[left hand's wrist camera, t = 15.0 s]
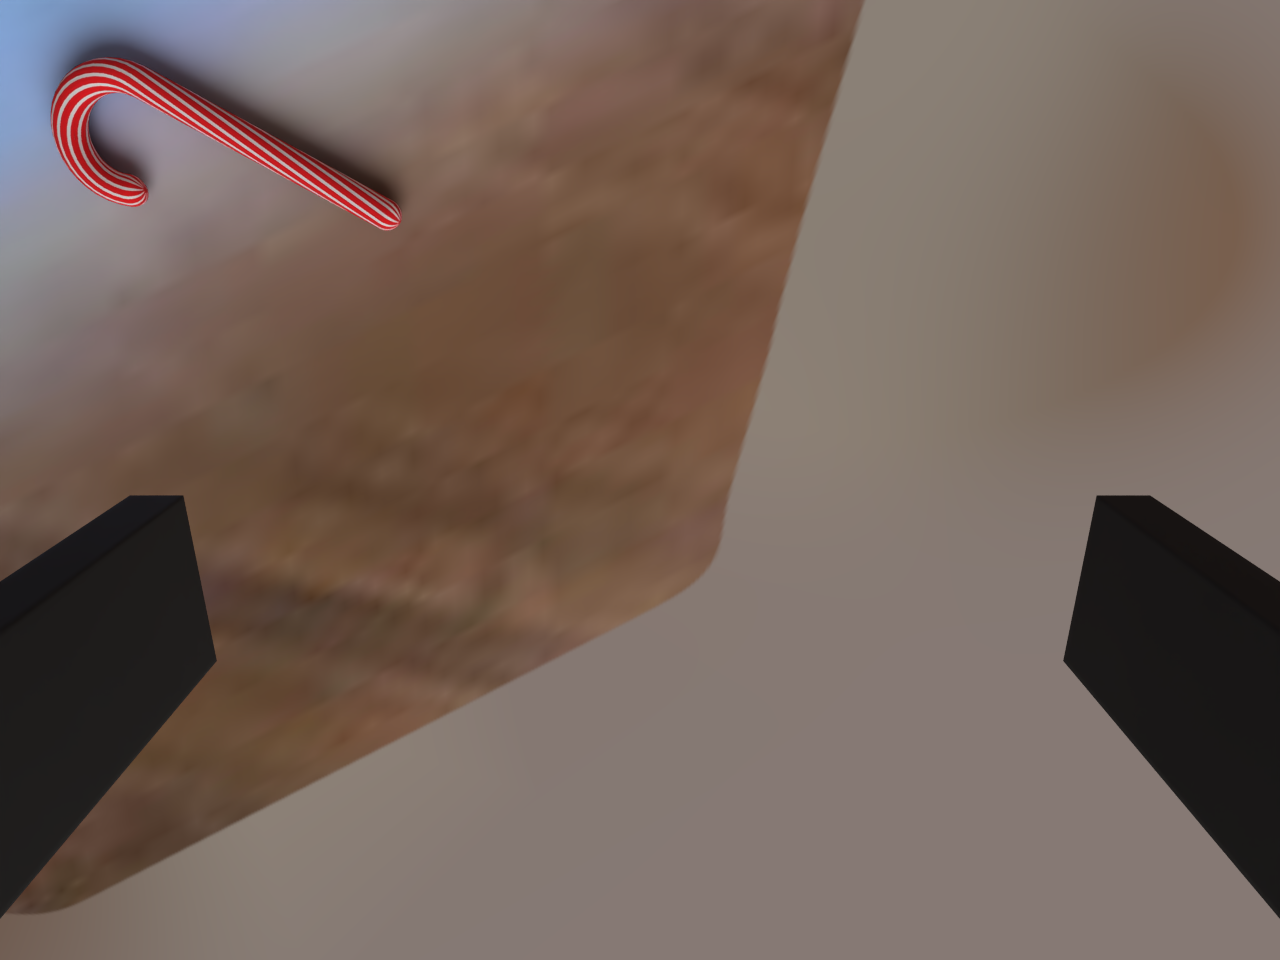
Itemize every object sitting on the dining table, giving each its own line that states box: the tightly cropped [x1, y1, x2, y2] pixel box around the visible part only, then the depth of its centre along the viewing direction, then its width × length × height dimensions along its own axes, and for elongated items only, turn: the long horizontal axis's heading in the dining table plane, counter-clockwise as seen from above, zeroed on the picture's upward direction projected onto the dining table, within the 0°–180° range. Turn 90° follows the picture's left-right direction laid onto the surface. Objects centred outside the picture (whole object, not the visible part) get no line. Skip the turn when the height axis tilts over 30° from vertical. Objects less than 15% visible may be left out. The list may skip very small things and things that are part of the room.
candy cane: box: [51, 57, 402, 230], centre depth 38 cm, size 6×15×2 cm, turn 62°
